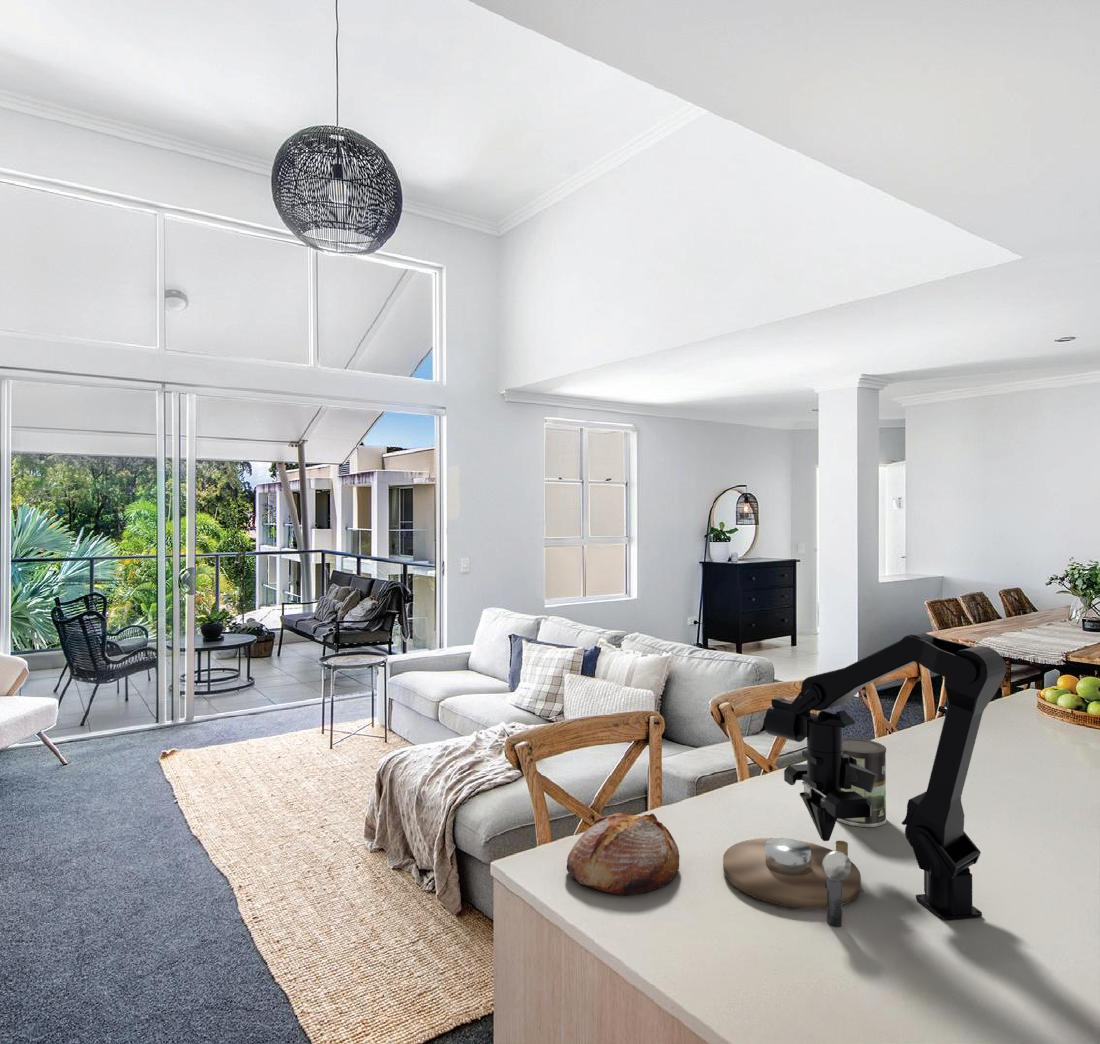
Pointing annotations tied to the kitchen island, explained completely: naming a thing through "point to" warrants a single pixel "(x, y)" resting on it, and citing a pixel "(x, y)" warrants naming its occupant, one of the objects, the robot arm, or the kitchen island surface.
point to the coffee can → (875, 761)
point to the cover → (788, 856)
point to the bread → (624, 855)
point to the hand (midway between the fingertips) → (825, 840)
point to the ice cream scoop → (835, 884)
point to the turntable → (785, 876)
